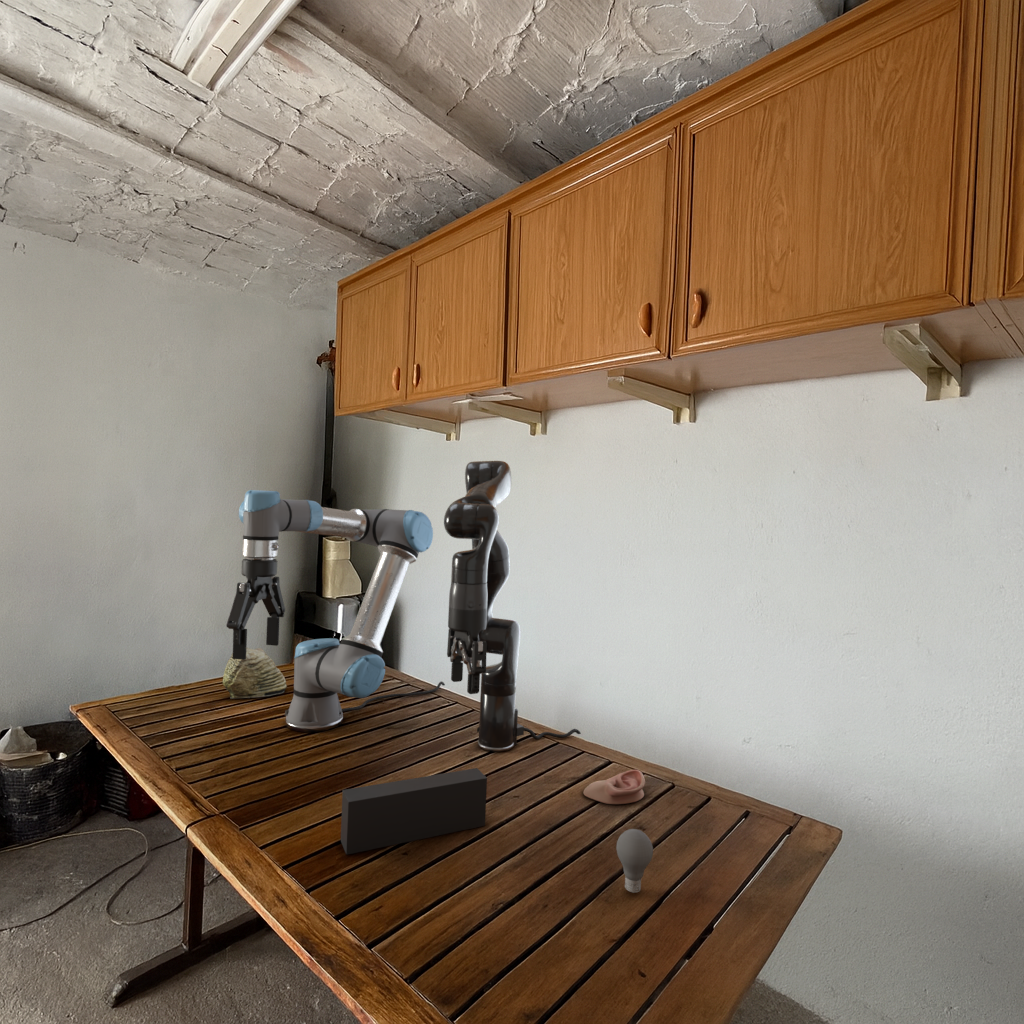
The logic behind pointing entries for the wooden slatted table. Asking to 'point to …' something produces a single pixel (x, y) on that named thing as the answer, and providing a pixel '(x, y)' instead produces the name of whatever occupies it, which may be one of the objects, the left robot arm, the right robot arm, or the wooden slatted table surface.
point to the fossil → (253, 676)
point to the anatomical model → (618, 788)
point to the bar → (412, 809)
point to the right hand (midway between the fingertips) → (464, 687)
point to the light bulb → (634, 857)
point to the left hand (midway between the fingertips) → (256, 651)
